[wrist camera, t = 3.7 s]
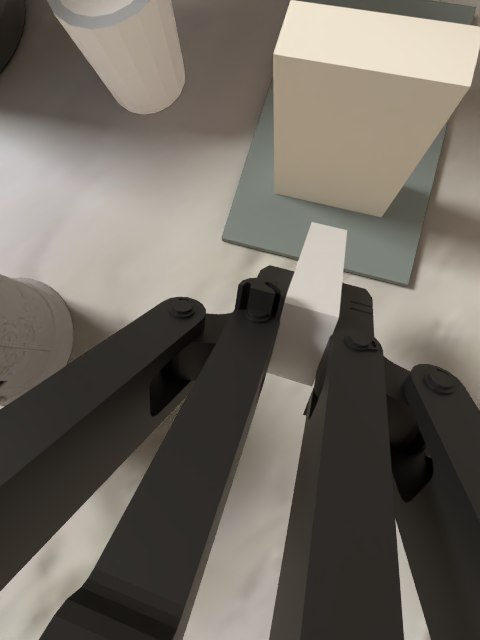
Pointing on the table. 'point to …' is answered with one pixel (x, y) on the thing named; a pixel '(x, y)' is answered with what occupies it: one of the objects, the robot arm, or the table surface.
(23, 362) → the tall grey mug
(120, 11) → the white cup
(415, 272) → the table surface
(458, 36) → the cream rectangular block
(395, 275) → the mat
